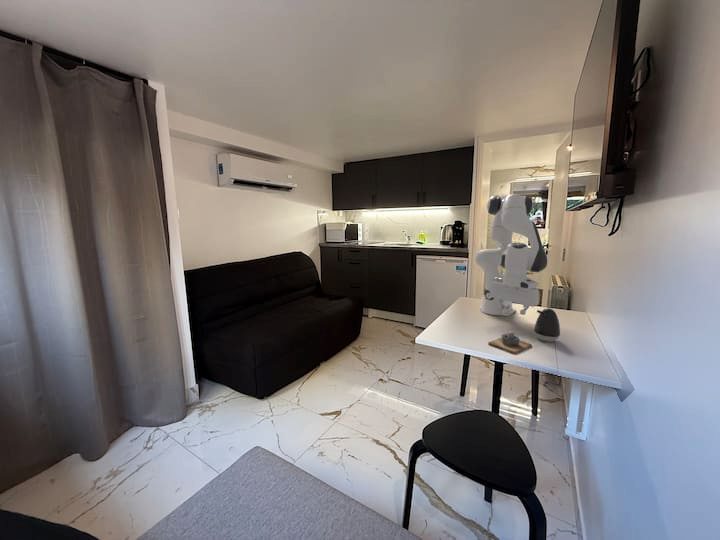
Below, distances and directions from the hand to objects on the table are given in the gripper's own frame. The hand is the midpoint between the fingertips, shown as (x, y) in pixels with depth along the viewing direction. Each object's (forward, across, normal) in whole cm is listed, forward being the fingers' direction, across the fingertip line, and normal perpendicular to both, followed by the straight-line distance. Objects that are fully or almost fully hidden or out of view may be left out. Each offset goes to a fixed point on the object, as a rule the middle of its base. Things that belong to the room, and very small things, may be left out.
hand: (511, 311), depth 129 cm
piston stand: (+16, 0, 0) cm, 16 cm away
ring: (+15, 0, 0) cm, 15 cm away
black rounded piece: (+16, +6, +20) cm, 26 cm away
